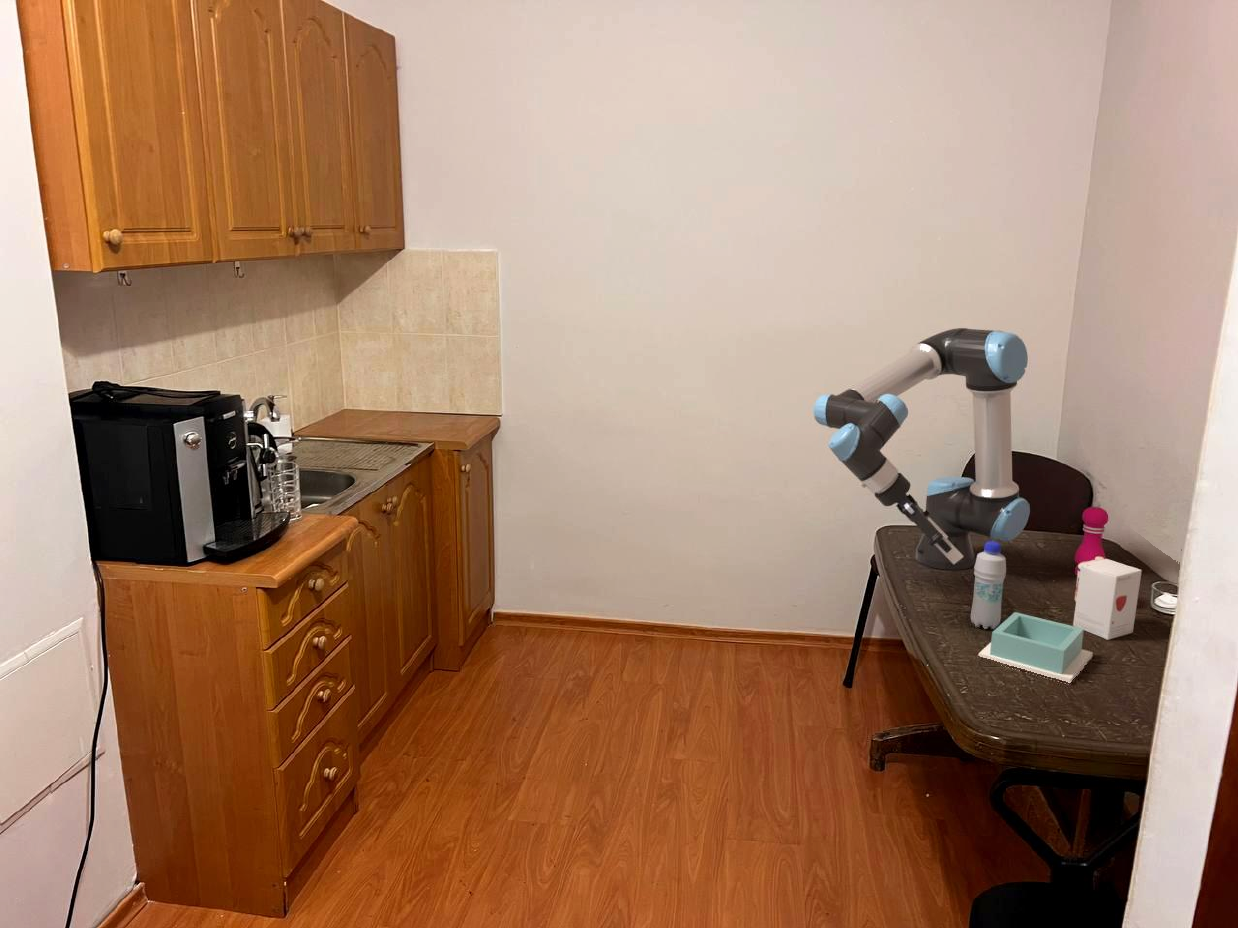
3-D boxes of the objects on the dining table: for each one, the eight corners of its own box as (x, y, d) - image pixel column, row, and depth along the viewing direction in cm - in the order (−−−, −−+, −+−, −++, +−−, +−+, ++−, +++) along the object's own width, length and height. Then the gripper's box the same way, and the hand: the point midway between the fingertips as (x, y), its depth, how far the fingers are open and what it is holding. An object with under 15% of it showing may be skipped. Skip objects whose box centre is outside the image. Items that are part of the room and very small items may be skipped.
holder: (978, 658, 193) (980, 631, 192) (1004, 634, 205) (1006, 608, 204) (1069, 684, 182) (1073, 655, 181) (1092, 657, 194) (1095, 629, 192)
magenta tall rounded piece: (1097, 570, 244) (1106, 498, 240) (1108, 580, 237) (1117, 505, 233) (1068, 570, 245) (1077, 497, 240) (1078, 579, 238) (1087, 505, 233)
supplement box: (1108, 641, 202) (1116, 576, 198) (1071, 626, 210) (1079, 563, 206) (1134, 633, 206) (1143, 569, 202) (1098, 618, 214) (1105, 557, 210)
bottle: (999, 622, 212) (1008, 538, 207) (1001, 633, 206) (1010, 548, 201) (968, 618, 214) (976, 536, 209) (969, 629, 208) (977, 545, 203)
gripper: (864, 480, 217) (925, 543, 219) (883, 510, 193) (951, 580, 195) (889, 458, 215) (950, 522, 217) (911, 486, 191) (979, 557, 193)
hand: (950, 549), depth 206 cm, fingers open, 13 cm apart
